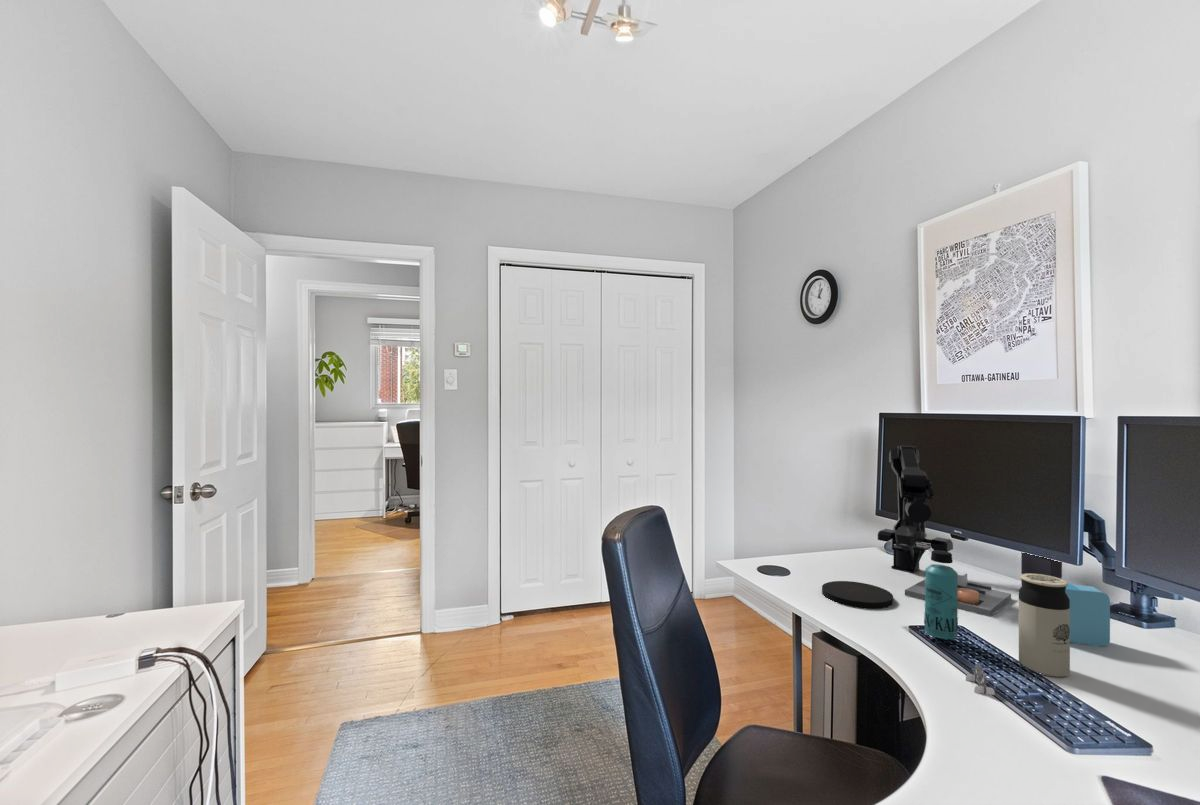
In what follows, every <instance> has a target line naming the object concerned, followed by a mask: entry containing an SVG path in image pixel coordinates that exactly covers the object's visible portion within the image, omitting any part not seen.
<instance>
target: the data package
mask: <svg viewBox="0 0 1200 805" xmlns="http://www.w3.org/2000/svg"><path fill="white" fill-rule="evenodd" d="M1065 593H1066V594H1067V596H1068V598H1069V599H1070V642H1071V643H1070V644H1078V643H1080V645H1086V644H1088V645H1087V646H1094V645H1098V647H1106V646H1107V645H1109V644H1110V642H1111V598H1110V596H1109V595H1108V594H1107V593H1105V592H1103V591H1102V590H1100V589H1098V588H1096V587H1095V586H1091V585H1082V584H1081V585H1080V584H1079V585H1078V584H1072V583H1071V584H1070V583H1068V586H1066V590H1065Z"/></svg>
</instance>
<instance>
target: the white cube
mask: <svg viewBox="0 0 1200 805" xmlns="http://www.w3.org/2000/svg"><path fill="white" fill-rule="evenodd" d="M955 571H956V572H957V574H958V580H957V585H960V586H967V582H968V573H967V572H964V571H961V570H960V571H959V570H955Z"/></svg>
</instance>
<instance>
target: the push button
mask: <svg viewBox="0 0 1200 805" xmlns="http://www.w3.org/2000/svg"><path fill="white" fill-rule="evenodd" d="M957 601H958V602H962V603H966V604H970V605H974V606H978V604H979V592H978V591H975V590H972V589H968V588H957Z"/></svg>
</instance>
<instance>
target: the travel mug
mask: <svg viewBox="0 0 1200 805" xmlns="http://www.w3.org/2000/svg"><path fill="white" fill-rule="evenodd" d="M1019 578H1020V579H1022V582H1023V585H1021V587H1020V588H1019V589H1018V662H1020V663H1021V664H1023V665H1024V666H1026V667H1028V668H1029V669H1031V670H1033V671H1035V672H1034V673H1036V672H1038V673H1037V674H1039V673H1041V674H1040V675H1042V674H1044V675H1043V676H1046V675H1048V676H1047V677H1053V676H1056V677H1055V678H1062V677H1068V676H1069V675H1070V674H1071V673H1070V672H1071V665H1070V664H1071V660H1070V659H1071V656H1070V655H1071V647H1070V646H1071V643H1070V599H1069V598H1068V596H1067V594H1066V593H1065V590H1066V586H1068V584H1069V583H1068V581H1067V580H1065V579H1063V578H1061V579H1060V578H1056V577H1052V576H1048V575H1042V574H1022V575H1021V574H1020V576H1019ZM1020 663H1019V664H1020ZM1021 664H1020V665H1021ZM1024 666H1023V667H1024ZM1029 669H1028V670H1029ZM1031 670H1030V671H1031ZM1033 671H1032V672H1033Z"/></svg>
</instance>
